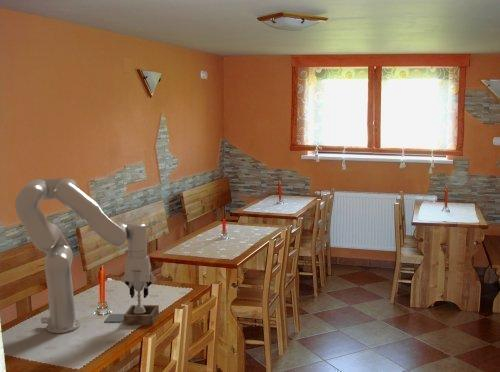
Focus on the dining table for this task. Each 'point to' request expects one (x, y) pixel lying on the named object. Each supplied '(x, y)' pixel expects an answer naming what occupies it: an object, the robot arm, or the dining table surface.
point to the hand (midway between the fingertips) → (139, 296)
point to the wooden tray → (141, 315)
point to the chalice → (138, 287)
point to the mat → (115, 318)
